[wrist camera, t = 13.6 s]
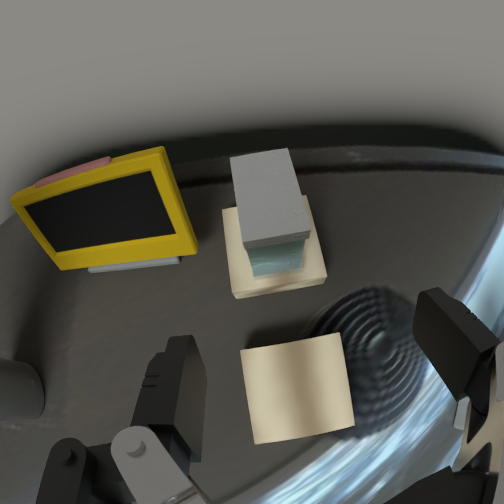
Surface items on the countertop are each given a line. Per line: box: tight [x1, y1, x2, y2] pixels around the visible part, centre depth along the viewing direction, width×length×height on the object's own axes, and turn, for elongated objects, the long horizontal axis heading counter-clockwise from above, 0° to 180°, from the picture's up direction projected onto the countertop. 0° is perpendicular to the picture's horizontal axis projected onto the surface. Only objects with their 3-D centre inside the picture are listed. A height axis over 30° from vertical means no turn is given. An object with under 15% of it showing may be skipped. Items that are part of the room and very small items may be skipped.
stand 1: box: [222, 195, 327, 299], centre depth 33 cm, size 10×10×3 cm
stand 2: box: [240, 332, 355, 444], centre depth 27 cm, size 10×10×3 cm
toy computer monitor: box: [10, 146, 198, 273], centre depth 29 cm, size 20×8×16 cm, turn 95°
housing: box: [230, 148, 311, 281], centre depth 27 cm, size 5×8×10 cm, turn 8°
